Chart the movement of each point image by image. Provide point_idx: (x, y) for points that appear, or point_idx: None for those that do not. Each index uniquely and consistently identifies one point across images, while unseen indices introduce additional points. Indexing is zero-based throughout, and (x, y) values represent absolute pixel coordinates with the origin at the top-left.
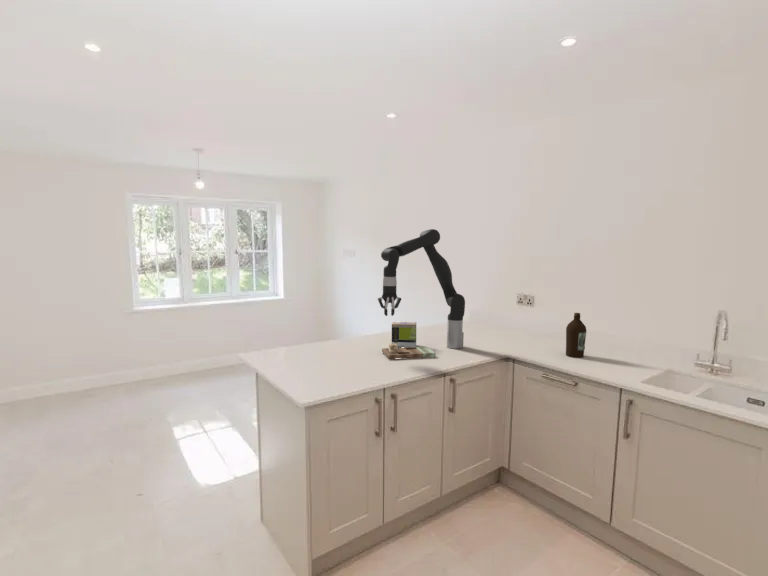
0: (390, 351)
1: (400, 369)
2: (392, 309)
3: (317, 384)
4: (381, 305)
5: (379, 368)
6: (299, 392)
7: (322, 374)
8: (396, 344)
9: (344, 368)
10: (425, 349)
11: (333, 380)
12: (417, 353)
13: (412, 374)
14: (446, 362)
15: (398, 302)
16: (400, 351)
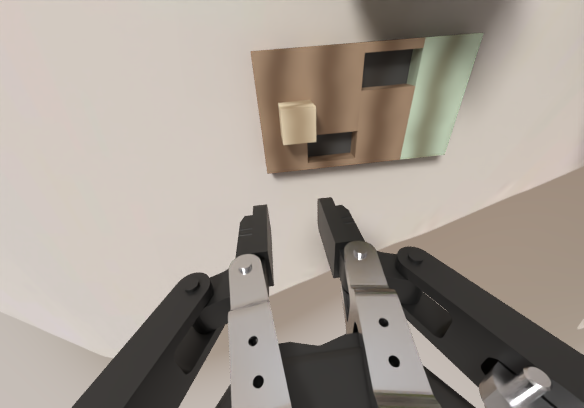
0: (281, 136)
1: (287, 248)
2: (335, 276)
3: (104, 317)
4: (182, 352)
5: (232, 241)
6: (88, 341)
7: (86, 275)
8: (315, 128)
9: (130, 239)
10: (442, 97)
11: (131, 302)
12: (379, 157)
13: (305, 275)
14: (430, 202)
15: (463, 358)
16: (326, 122)
